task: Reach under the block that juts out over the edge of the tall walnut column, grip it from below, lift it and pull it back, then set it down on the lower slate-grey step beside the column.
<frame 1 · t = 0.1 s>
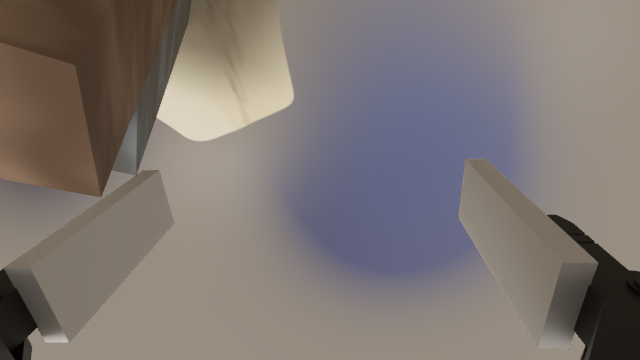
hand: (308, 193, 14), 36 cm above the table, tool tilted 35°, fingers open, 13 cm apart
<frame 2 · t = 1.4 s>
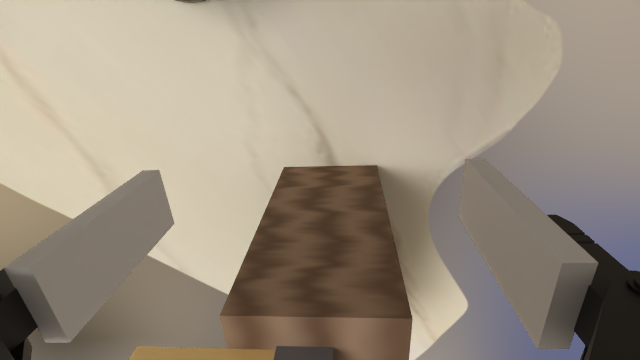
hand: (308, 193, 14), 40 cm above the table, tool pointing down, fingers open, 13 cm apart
stand: (332, 225, 62), on the table
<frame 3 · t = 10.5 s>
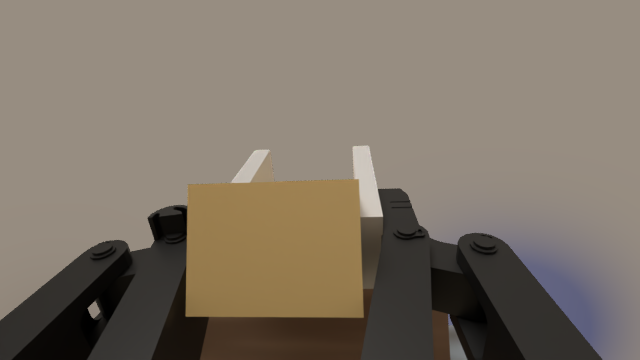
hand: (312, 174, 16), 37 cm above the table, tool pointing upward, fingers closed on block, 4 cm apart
block: (315, 259, 16), point 33 cm above the table, touching gripper, stand
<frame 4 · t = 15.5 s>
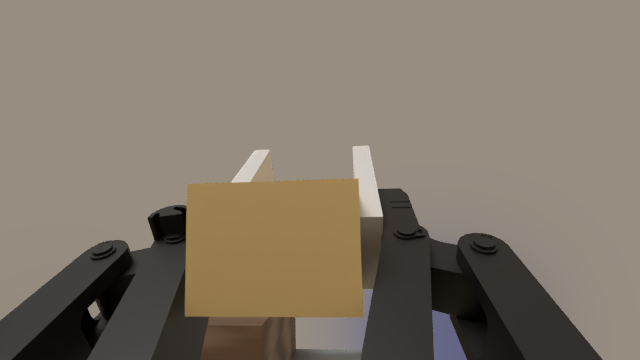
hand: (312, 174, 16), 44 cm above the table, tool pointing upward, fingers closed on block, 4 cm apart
block: (315, 259, 16), point 39 cm above the table, touching gripper
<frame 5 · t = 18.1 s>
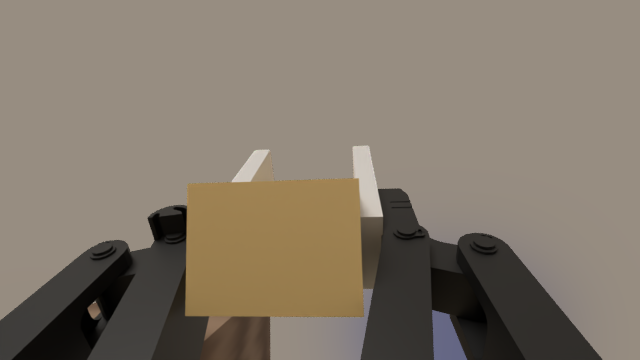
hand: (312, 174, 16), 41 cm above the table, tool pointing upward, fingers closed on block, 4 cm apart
block: (315, 259, 16), point 37 cm above the table, touching gripper
when the fingers open (31 cm above the table, at t = 20.6 s): block drops 1 cm, resting on stand.
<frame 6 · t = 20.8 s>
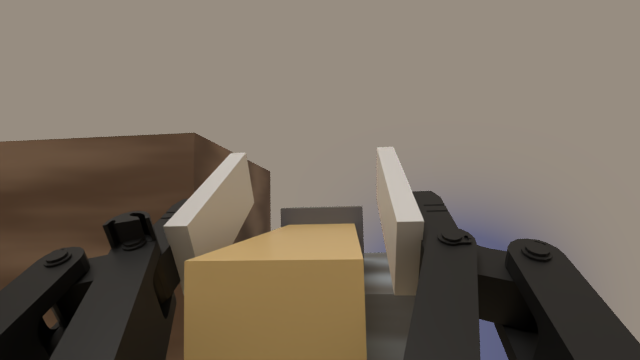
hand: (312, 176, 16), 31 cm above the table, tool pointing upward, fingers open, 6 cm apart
block: (316, 291, 16), point 25 cm above the table, touching stand
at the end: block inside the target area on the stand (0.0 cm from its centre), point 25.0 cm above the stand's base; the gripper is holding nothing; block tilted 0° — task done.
